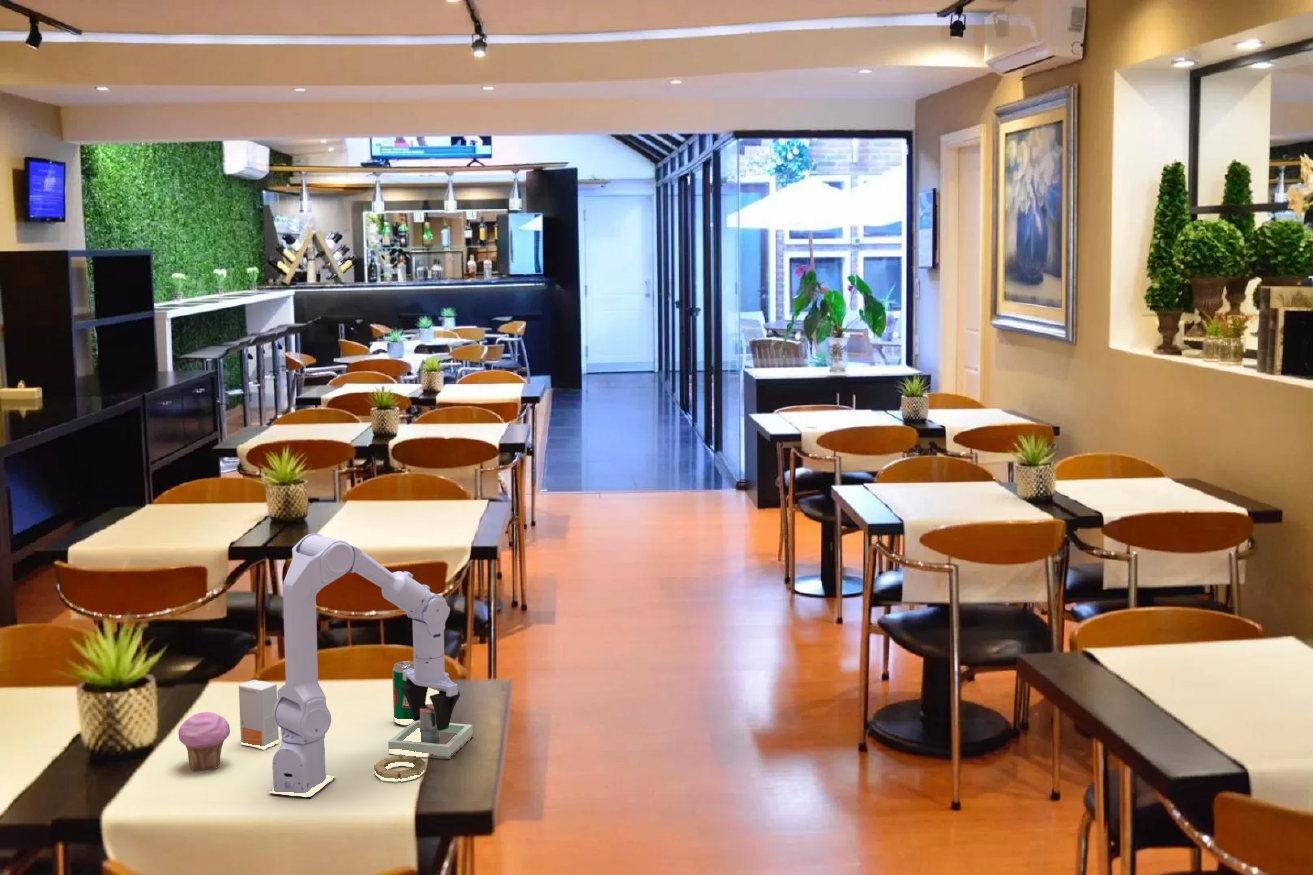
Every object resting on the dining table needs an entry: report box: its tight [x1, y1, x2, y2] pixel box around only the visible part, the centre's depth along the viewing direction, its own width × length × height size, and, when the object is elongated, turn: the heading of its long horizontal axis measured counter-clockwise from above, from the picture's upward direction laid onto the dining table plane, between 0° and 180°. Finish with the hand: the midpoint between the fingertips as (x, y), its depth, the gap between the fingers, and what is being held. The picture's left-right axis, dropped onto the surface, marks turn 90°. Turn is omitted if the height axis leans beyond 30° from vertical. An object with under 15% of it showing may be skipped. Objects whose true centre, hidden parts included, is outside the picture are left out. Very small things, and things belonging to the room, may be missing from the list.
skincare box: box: [238, 679, 280, 746], centre depth 253 cm, size 6×4×12 cm
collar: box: [373, 755, 427, 779], centre depth 240 cm, size 9×9×2 cm
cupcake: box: [177, 711, 231, 771], centre depth 243 cm, size 9×9×10 cm
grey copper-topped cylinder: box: [420, 703, 440, 744], centre depth 253 cm, size 4×4×7 cm
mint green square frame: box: [387, 720, 474, 757], centre depth 253 cm, size 12×12×2 cm
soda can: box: [391, 660, 414, 719], centre depth 265 cm, size 5×5×12 cm
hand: (430, 724), depth 253 cm, fingers open, 7 cm apart
